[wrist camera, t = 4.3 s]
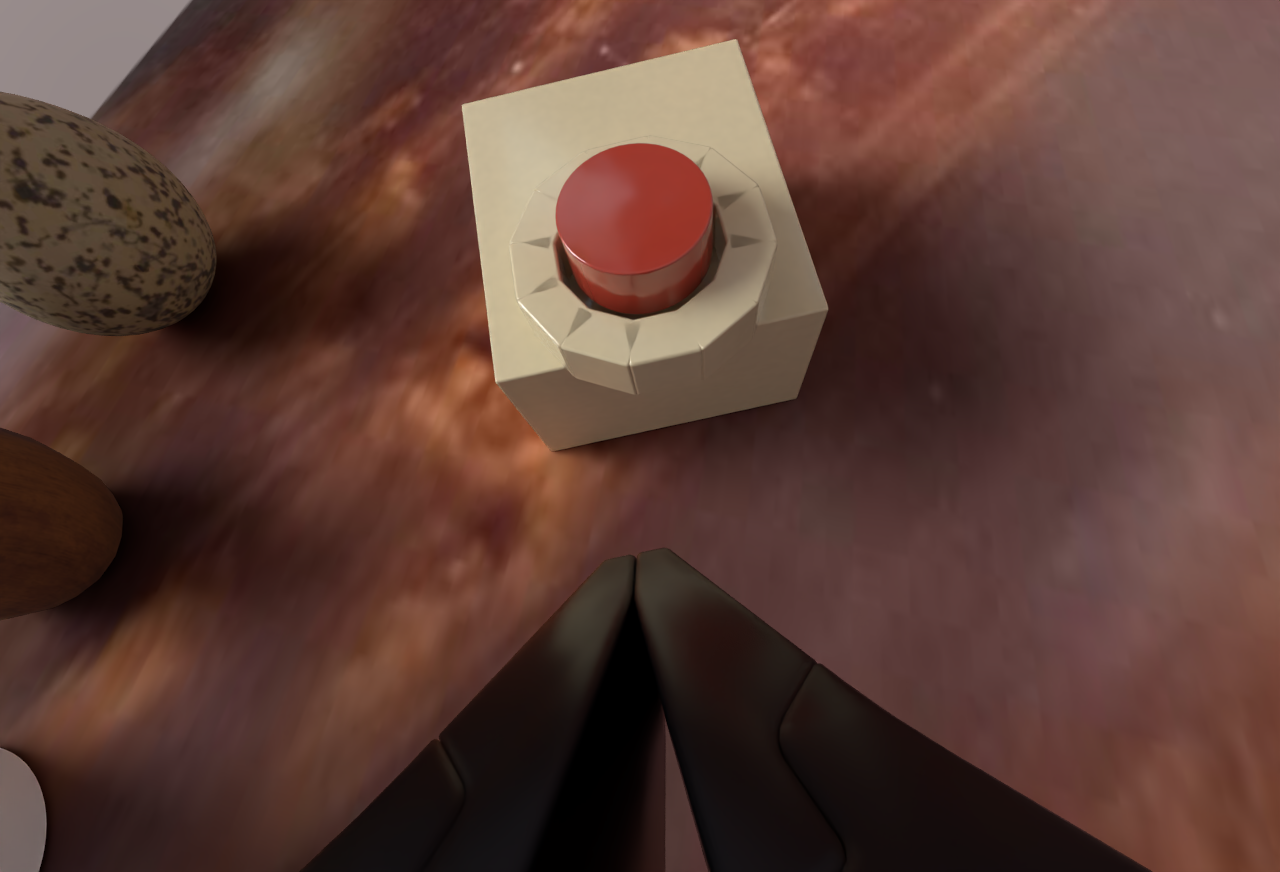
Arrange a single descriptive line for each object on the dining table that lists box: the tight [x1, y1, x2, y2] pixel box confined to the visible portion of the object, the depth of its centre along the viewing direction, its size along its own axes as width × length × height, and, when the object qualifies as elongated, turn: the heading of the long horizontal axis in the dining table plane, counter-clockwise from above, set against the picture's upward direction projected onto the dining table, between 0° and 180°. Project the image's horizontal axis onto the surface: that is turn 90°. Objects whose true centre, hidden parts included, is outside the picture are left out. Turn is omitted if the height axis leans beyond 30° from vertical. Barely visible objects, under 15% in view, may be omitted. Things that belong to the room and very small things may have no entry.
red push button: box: [555, 143, 713, 314], centre depth 15 cm, size 4×4×2 cm
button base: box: [462, 39, 828, 451], centre depth 20 cm, size 11×9×8 cm
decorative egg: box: [0, 92, 216, 336], centre depth 22 cm, size 7×7×10 cm
